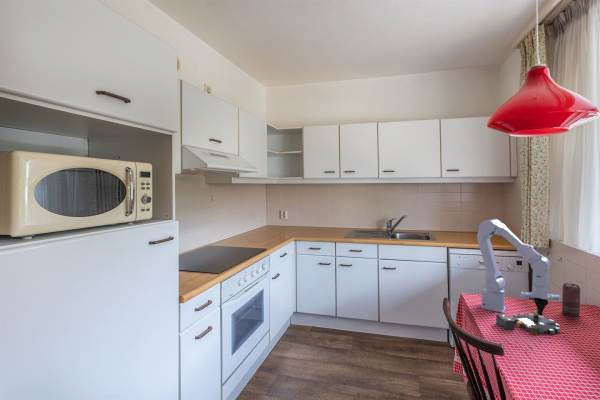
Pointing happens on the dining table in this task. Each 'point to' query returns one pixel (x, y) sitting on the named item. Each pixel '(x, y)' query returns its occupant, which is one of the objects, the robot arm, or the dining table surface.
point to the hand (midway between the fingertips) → (539, 314)
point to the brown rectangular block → (534, 330)
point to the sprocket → (536, 323)
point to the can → (571, 300)
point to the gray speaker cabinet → (505, 322)
